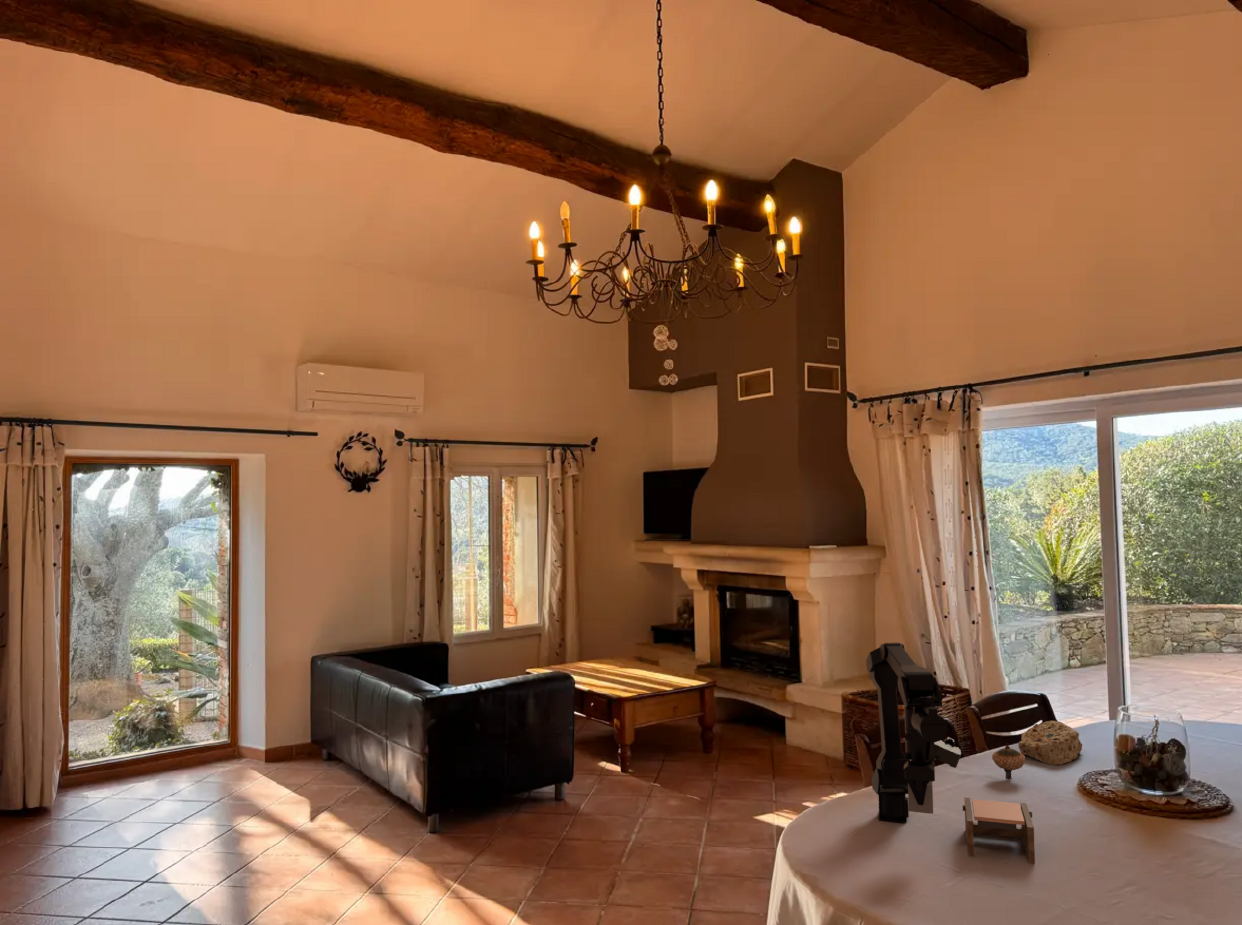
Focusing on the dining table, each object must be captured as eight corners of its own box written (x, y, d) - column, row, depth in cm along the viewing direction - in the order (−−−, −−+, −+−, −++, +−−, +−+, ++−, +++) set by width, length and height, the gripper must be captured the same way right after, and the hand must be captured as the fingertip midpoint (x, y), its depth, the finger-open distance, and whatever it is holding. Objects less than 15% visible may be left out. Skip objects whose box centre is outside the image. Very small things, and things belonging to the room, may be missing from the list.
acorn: (1027, 777, 238) (1026, 740, 238) (1024, 786, 231) (1022, 748, 231) (995, 773, 242) (993, 737, 242) (990, 781, 235) (989, 744, 235)
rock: (1069, 772, 245) (1058, 736, 246) (1019, 772, 255) (1008, 739, 256) (1093, 748, 259) (1082, 714, 260) (1045, 749, 269) (1034, 717, 271)
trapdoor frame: (965, 855, 188) (964, 820, 189) (962, 829, 203) (961, 797, 203) (1038, 864, 184) (1036, 827, 184) (1030, 836, 198) (1029, 803, 198)
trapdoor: (975, 840, 190) (974, 816, 190) (972, 821, 200) (972, 799, 200) (1025, 845, 186) (1024, 821, 186) (1020, 826, 197) (1019, 803, 197)
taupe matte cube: (908, 811, 188) (907, 783, 188) (909, 803, 193) (908, 776, 193) (933, 813, 186) (932, 785, 186) (933, 805, 191) (932, 778, 191)
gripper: (959, 743, 178) (961, 820, 178) (956, 720, 196) (958, 789, 195) (902, 739, 182) (904, 814, 182) (905, 716, 200) (907, 785, 199)
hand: (920, 800), depth 189 cm, fingers closed on taupe matte cube, 5 cm apart
